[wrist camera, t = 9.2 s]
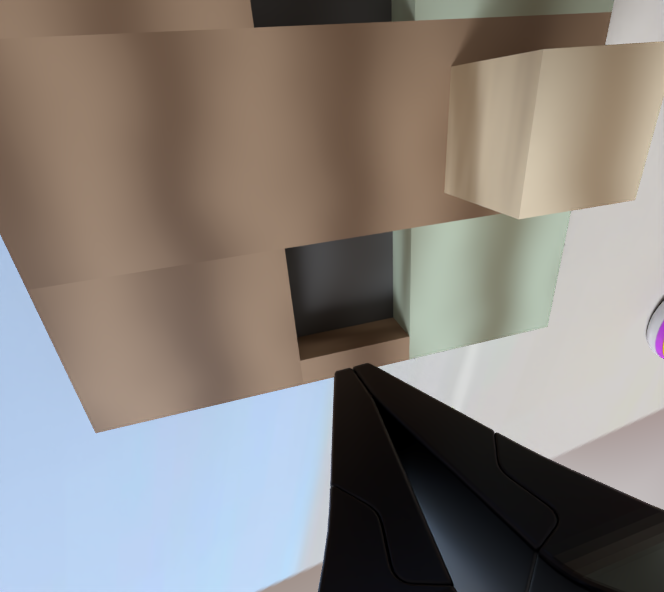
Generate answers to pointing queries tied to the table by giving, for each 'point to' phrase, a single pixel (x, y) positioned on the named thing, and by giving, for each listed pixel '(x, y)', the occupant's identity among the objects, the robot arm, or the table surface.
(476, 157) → the block
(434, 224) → the trap deck
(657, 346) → the supplement bottle
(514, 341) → the table surface
